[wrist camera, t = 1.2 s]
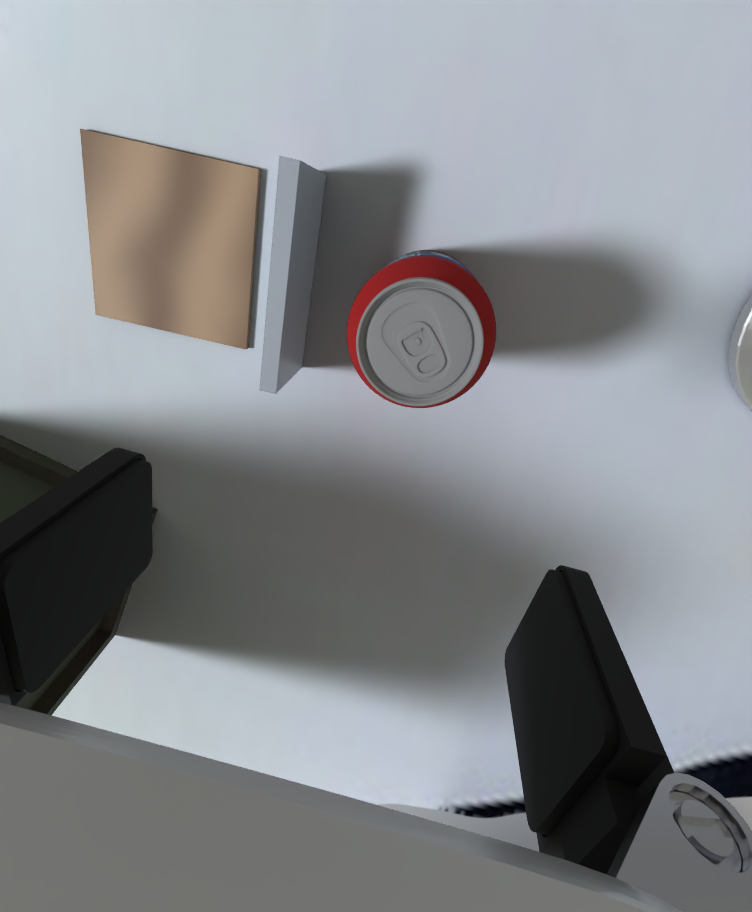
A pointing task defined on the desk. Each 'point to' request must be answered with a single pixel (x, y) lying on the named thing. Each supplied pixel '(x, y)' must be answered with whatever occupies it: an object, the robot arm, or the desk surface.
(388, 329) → the beverage can
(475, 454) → the desk surface
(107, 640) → the first aid box
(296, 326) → the low wall
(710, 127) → the desk surface
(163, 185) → the coaster pad
